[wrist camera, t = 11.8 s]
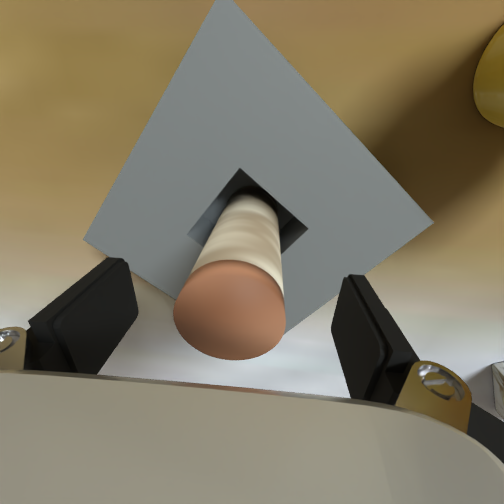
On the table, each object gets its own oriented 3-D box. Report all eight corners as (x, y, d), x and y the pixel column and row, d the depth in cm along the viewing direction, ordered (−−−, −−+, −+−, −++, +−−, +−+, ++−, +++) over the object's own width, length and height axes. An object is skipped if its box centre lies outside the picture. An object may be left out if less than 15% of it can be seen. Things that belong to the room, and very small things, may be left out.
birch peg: (288, 209, 19) (310, 321, 8) (254, 243, 21) (238, 373, 10) (248, 174, 18) (217, 252, 7) (216, 213, 20) (153, 323, 9)
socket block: (396, 199, 19) (434, 222, 15) (260, 313, 25) (258, 353, 21) (236, 28, 15) (222, -12, 10) (121, 215, 21) (82, 239, 17)
